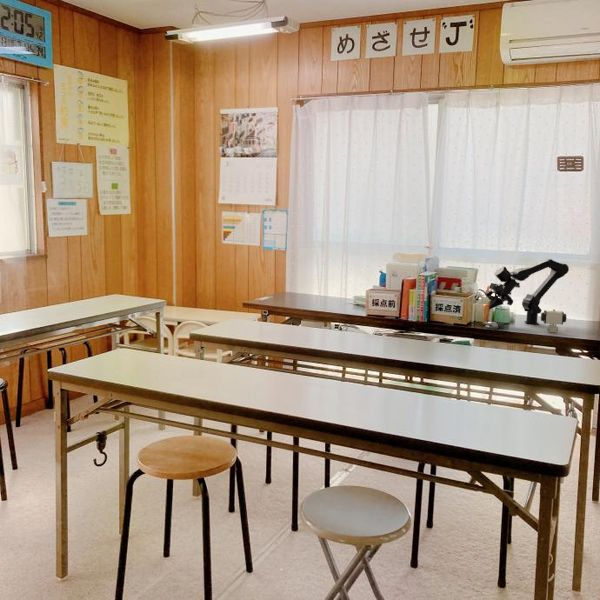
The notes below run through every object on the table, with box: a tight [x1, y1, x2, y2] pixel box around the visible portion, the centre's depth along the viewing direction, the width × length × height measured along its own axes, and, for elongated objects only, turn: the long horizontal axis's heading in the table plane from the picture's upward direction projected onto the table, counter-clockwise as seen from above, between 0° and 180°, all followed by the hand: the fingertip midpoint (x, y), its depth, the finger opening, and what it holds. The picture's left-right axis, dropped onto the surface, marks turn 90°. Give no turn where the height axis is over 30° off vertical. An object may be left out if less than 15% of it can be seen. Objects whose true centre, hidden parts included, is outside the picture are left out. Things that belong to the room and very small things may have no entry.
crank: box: [482, 303, 498, 327], centre depth 332 cm, size 13×4×11 cm, turn 9°
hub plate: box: [484, 325, 500, 330], centre depth 330 cm, size 7×7×1 cm
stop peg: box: [497, 322, 504, 329], centre depth 329 cm, size 3×3×3 cm
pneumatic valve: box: [540, 308, 567, 333], centre depth 320 cm, size 6×12×12 cm, turn 76°
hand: (488, 308), depth 337 cm, fingers closed, pressing on crank
